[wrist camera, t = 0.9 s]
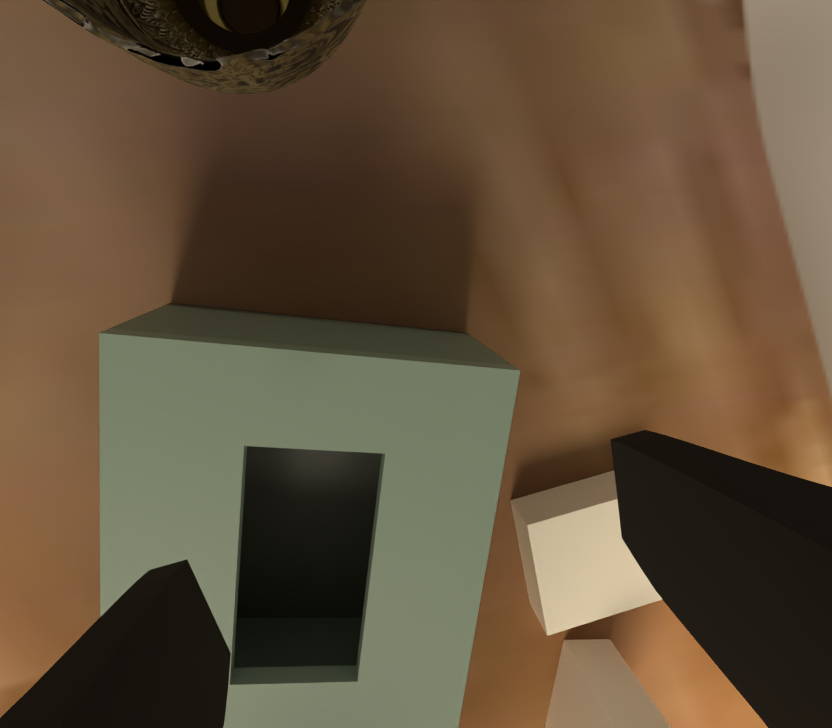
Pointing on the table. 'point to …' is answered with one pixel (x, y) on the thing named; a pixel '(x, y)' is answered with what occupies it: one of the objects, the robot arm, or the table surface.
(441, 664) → the box
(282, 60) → the cup
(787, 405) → the table surface
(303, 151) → the table surface
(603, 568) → the block
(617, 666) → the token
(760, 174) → the table surface
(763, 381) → the table surface
